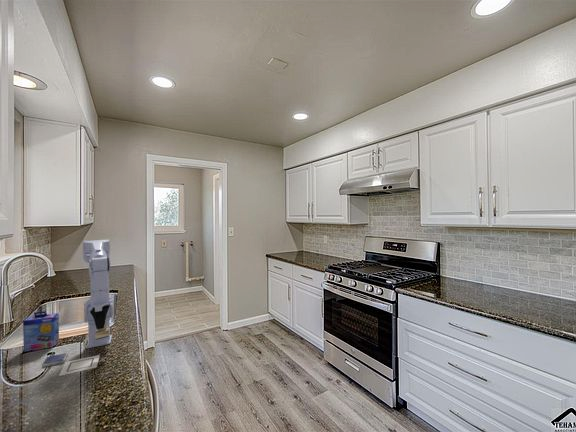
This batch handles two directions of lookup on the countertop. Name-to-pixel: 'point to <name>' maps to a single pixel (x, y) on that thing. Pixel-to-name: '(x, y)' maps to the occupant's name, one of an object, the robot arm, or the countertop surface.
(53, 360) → the ink pad
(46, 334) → the ink cartridge box
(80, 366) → the paper
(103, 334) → the stamp
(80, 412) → the countertop surface
